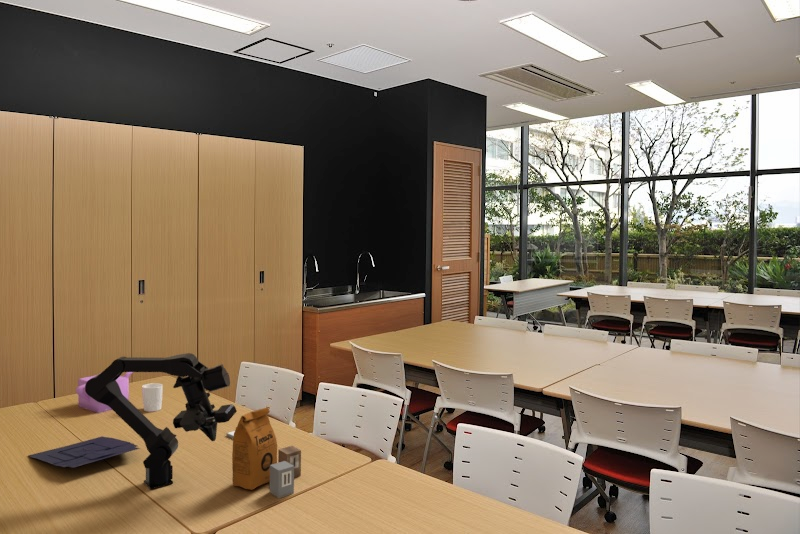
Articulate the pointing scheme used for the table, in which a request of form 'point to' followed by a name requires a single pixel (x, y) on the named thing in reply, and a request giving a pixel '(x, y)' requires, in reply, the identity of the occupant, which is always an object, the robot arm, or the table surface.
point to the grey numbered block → (281, 479)
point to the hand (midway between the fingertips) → (213, 440)
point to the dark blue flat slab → (85, 452)
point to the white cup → (152, 396)
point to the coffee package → (253, 450)
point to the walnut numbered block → (291, 458)
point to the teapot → (92, 404)
